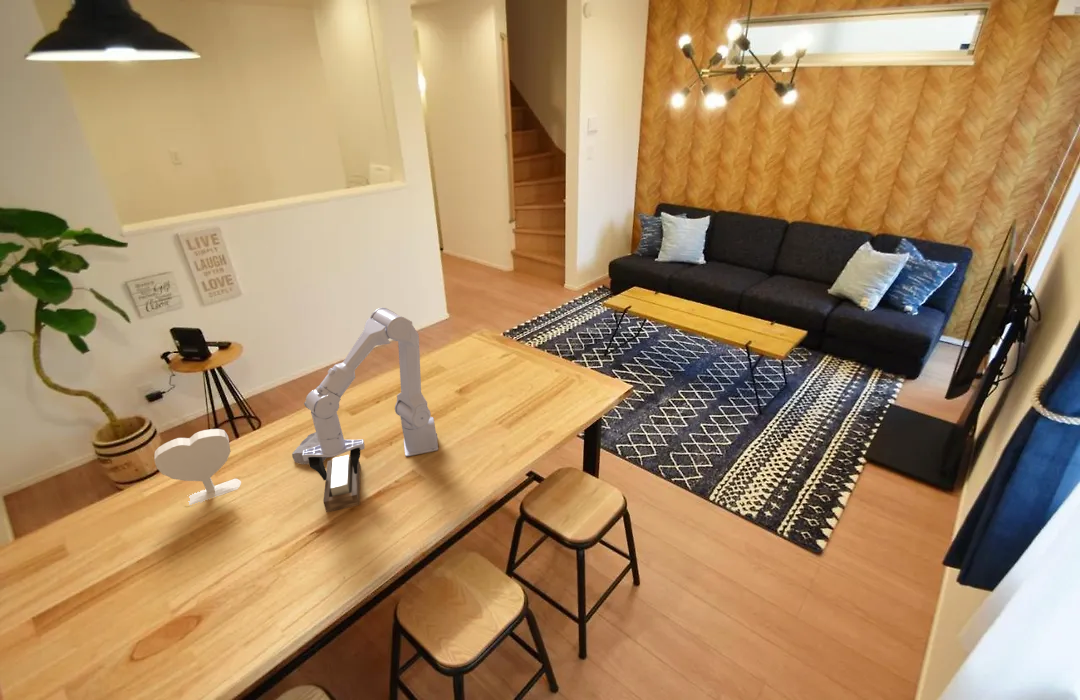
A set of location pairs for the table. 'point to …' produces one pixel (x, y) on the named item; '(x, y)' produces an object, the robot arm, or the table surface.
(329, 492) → the shallow brown tray
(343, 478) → the rectangular block
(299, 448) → the stone block
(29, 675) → the table surface
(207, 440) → the heart sculpture
